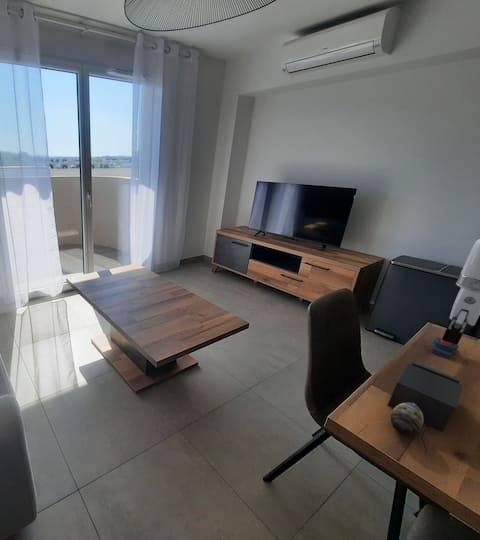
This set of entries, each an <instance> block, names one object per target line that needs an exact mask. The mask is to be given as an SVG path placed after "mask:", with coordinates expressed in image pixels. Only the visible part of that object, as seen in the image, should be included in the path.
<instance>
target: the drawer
mask: <svg viewBox="0 0 480 540" xmlns="http://www.w3.org/2000/svg"><path fill="white" fill-rule="evenodd" d="M411 365H413V366H415V367H418V368H420V369H423V370H425V371H428V372H430V373H433V374H435V375H438V376H441V377H443V378H446V379H448V380H451V381H453V382H456V383H458V384H460V382H461V378H457V377H455V376H452V375H449V374H448V373H444V372H442V371H439V370H437V369H434V368H431V367H429V366H426V365H424V364H421V363H419V362H416V361H413V362H412V363H411Z"/></svg>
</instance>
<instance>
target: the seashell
mask: <svg viewBox="0 0 480 540" xmlns="http://www.w3.org/2000/svg"><path fill="white" fill-rule="evenodd" d="M423 422H424V419H423V414H422V412H421V410H420V409H419V408H418V406H417V405H416V404H414V403H402V404H399V405H398V406H396V407H395V408H392V410H391V413H390V423H391V425H392V427H393V429H394V430H395V431H396V432H397V433H399V434H402V435H405V436H406V435H407V436H409V435H415V434H416V433H418V432H419V431H420V430H421V429H422V428H423V426H424V423H423Z"/></svg>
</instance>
